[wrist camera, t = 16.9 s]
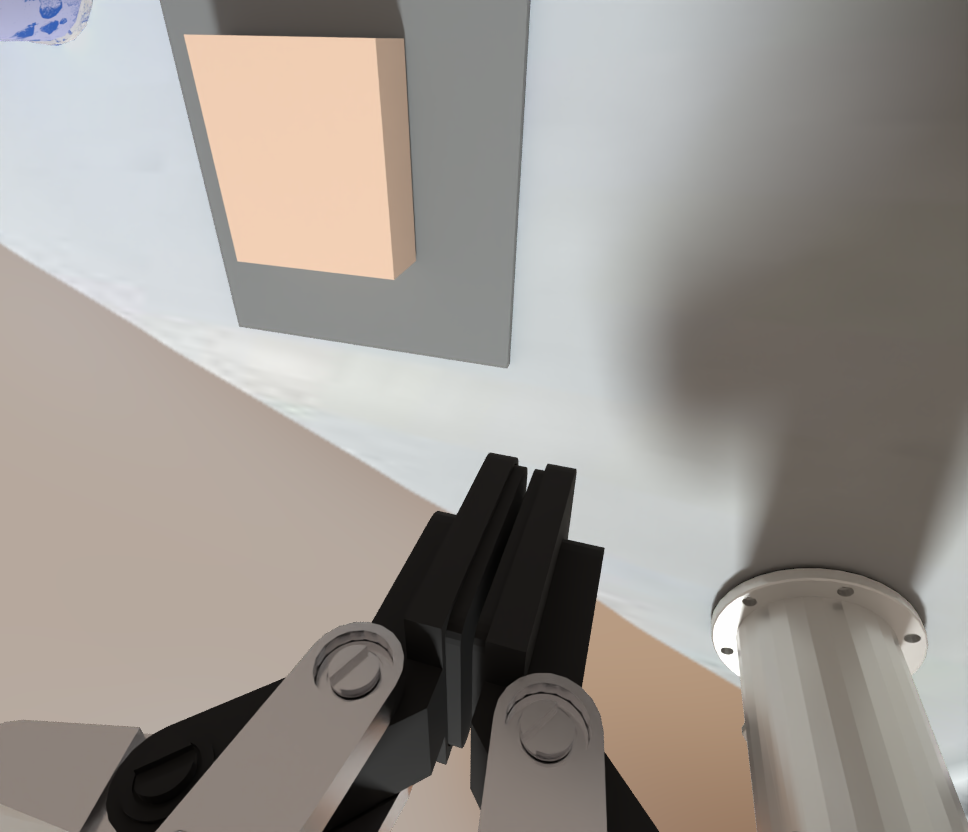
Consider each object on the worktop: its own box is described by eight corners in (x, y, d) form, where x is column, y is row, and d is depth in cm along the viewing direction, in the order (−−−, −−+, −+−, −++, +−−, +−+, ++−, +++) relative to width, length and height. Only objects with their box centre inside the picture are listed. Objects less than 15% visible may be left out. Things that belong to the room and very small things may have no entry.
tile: (394, 279, 28) (237, 261, 30) (417, 259, 30) (272, 243, 32) (375, 38, 22) (183, 34, 24) (406, 38, 25) (230, 35, 27)
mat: (509, 363, 33) (507, 368, 33) (244, 322, 37) (239, 326, 36) (539, -156, 21) (536, -161, 20) (135, -138, 24) (125, -142, 24)
